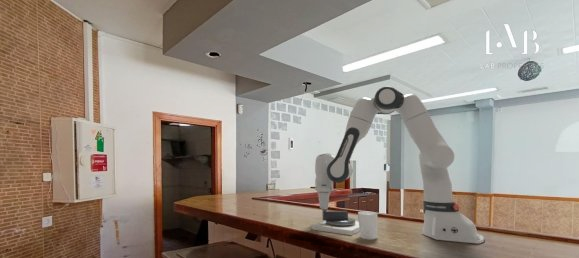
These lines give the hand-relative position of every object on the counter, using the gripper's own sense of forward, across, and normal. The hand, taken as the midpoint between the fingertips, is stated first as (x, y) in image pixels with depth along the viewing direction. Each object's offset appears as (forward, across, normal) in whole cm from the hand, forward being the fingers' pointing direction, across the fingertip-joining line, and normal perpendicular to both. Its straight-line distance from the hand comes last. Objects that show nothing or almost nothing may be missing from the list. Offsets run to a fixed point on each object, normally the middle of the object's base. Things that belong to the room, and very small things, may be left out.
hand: (324, 215), depth 137 cm
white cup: (+6, +17, +18) cm, 25 cm away
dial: (+3, +1, +7) cm, 8 cm away
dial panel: (+6, +1, +8) cm, 9 cm away
